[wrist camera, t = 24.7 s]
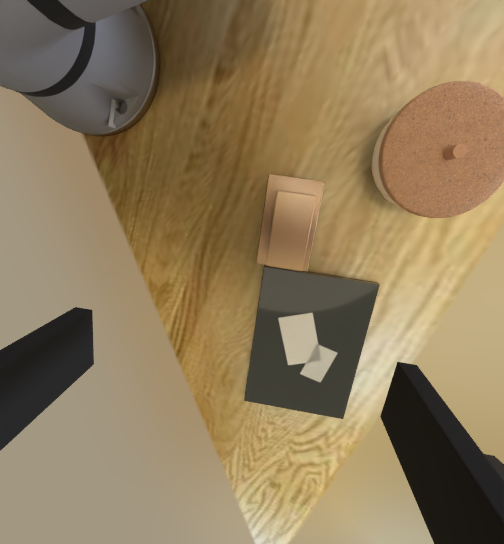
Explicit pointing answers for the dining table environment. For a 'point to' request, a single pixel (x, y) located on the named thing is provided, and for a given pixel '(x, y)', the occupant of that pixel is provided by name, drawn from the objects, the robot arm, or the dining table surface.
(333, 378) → the slate board
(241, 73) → the dining table surface
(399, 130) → the trinket box
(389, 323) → the dining table surface
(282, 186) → the wooden stepped block
